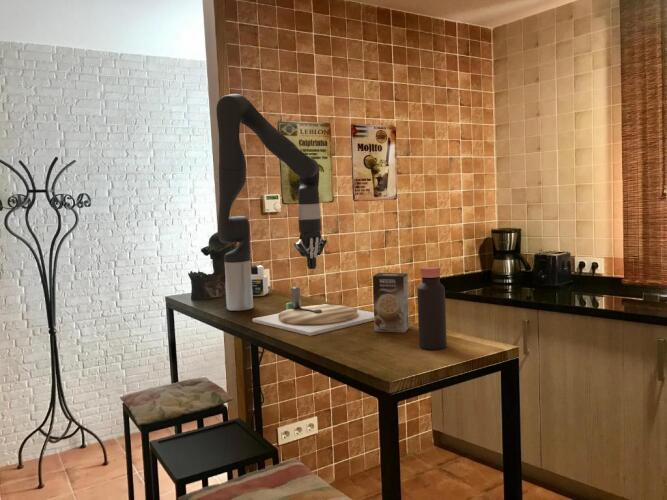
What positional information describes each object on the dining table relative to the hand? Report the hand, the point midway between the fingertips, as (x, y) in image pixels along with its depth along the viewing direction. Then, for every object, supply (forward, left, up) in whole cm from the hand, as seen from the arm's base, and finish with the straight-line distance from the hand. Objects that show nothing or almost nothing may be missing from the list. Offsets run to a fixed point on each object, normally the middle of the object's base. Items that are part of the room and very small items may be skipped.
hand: (311, 268), depth 198 cm
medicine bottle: (-47, +8, -15) cm, 50 cm away
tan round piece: (+12, -7, -13) cm, 19 cm away
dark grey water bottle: (+61, -10, -15) cm, 63 cm away
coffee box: (+40, -3, -15) cm, 42 cm away
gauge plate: (+12, -7, -15) cm, 20 cm away
